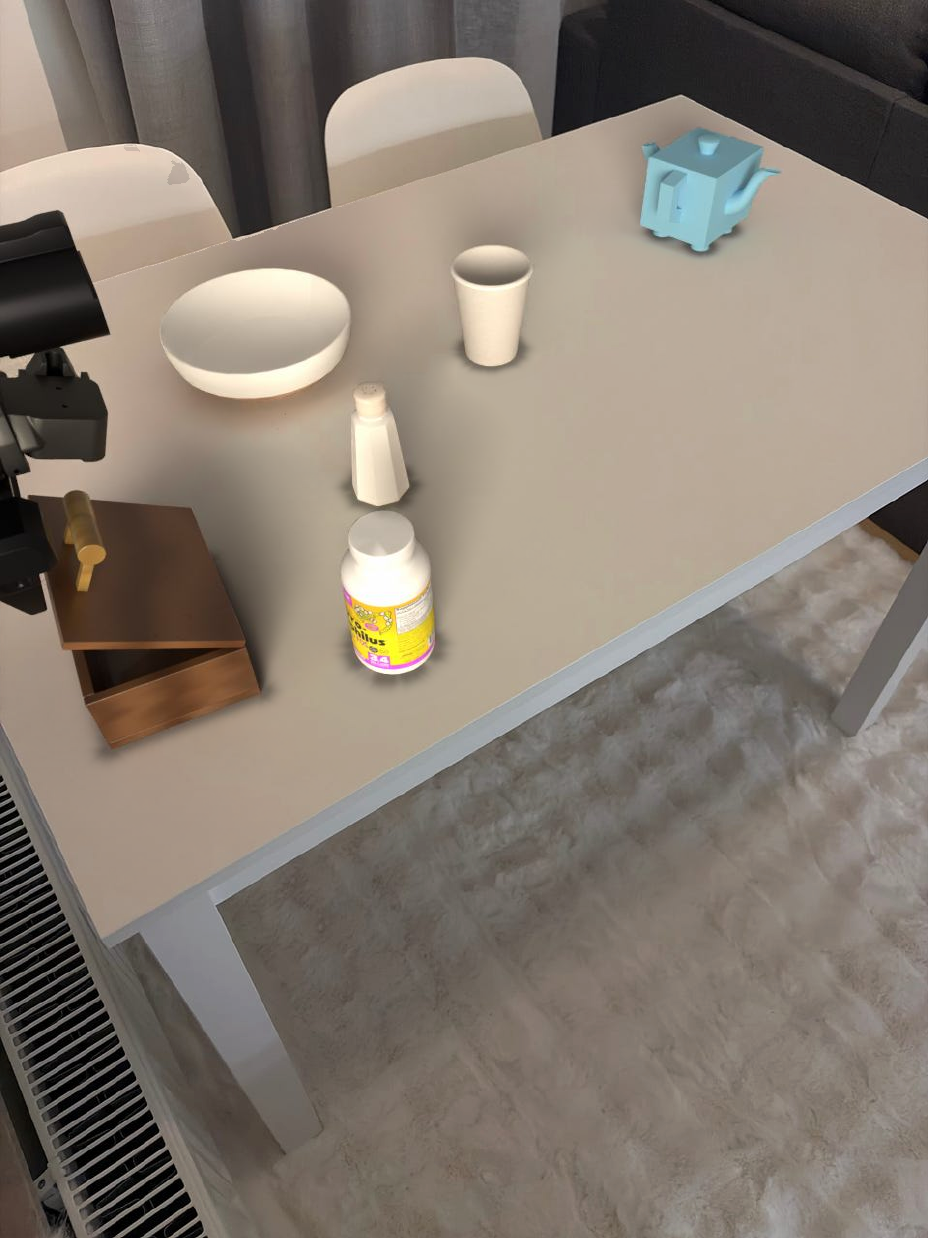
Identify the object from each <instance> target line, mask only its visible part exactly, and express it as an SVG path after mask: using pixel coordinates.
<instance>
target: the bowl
mask: <svg viewBox="0 0 928 1238" xmlns="http://www.w3.org/2000/svg"><path fill="white" fill-rule="evenodd" d="M351 329H352V311H351V304H350V301H349V300H348V298H347V296H346V294H345V293H344V292H343V291H342V290H341V289H340V288H339V287H338V286H337V285H335V284H334V283H333V282H331V281H329V280H327V279H326V278H325V277H322V276H319V275H318V274H317V275H316V274H315V273H311V272H307V271H303V270H299V269H291V268H285V267H261V268H249V269H243V270H238V271H233V272H228V273H225V274H222V275H218V276H215V277H212V278H209V279H208V280H205V281H203V282H200V283H199V284H196V285H195V286H193V287H191V288H190V289H188V290H186V291H185V292H183V293H182V294H181V295H179V296H178V297H177V298H176V299H175V300H174V301H172V303H171V304H170V305H169V306H168V307H167V309H166V310H165V311H164V313H163V316H162V318H161V320H160V323H159V331H158V335H159V341H160V342H161V346H162V348H163V350H164V352H165V355H166V356H167V359H168V360H169V361H170V363H171V364H172V366H173V367H174V368H175V370H176V371H177V372H178V373H179V374H180V376H181V377H182V379H184V380H185V381H187V383H189V384H190V385H191V386H193V387H194V388H197V389H198V390H200V391H202V392H204V393H207V394H208V393H209V394H211V395H214V396H217V397H220V398H224V399H227V400H232V401H238V402H264V401H266V402H267V401H274V400H277V399H282V398H286V397H289V396H293V395H295V394H297V393H300V392H302V391H305V390H307V389H309V388H310V387H312V386H314V385H315V384H316V383H318V382H320V380H322V379H323V378H324V377H325V376H326V375H327V374H329V373H330V372H331V371H332V370H334V369H335V368H336V366H337V365H338V364H339V363H340V362H341V360H342V358H343V356H344V354H345V353H346V350H347V346H348V344H349V339H350V335H351V331H352V330H351Z"/></svg>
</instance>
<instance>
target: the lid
mask: <svg viewBox="0 0 928 1238" xmlns="http://www.w3.org/2000/svg"><path fill="white" fill-rule="evenodd" d="M26 499H28V500H31V501H34V502H37V503H39V505H40V507H41V509H42V511H43V513H44V515H45V518H46V520H47V523H48V525H49V528H50V531H51V533H52V537H53V541H54V545H55V549H56V553H57V556H58V560H59V562H58V563H57V564H56V565H55V566H54V567H53V569H52V570H51V571H48V572H45V573H43V575H44V580H45V583H46V588H47V592H48V596H49V601H50V604H51V609H52V613H53V617H54V622H55V625H56V630H57V633H58V638H59V641H60V646H61V650H63V651H72V650H92V649H162V648H231V647H244V644H245V645H246V642H247V641H246V638H245V635H244V633H243V630H242V628H241V625H240V623H239V621H238V618H237V616H236V613H235V611H234V608H233V606H232V604H231V601H230V599H229V596H228V593H227V591H226V588H225V585H224V584H223V581H222V579H221V576H220V574H219V571H218V569H217V567H216V564H215V562H214V559H213V556H212V554H211V551H210V549H209V547H208V545H207V542H206V540H205V537H204V535H203V532H202V530H201V527H200V525H199V523H198V520H197V518H196V515H195V513H194V510H193V507H190V506H177V505H163V504H151V503H137V502H125V501H114V500H113V501H112V500H102V499H91V498H90V495H89V494H88V493H86V492H85V491H83V490H79V489H75V490H73V489H72V490H70V491H68V492H67V493H65V494H64V496H63V497H61V496H52V495H51V496H50V495H39V494H38V495H37V494H28V495H27V498H26Z"/></svg>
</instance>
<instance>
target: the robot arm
mask: <svg viewBox="0 0 928 1238" xmlns="http://www.w3.org/2000/svg"><path fill="white" fill-rule="evenodd" d="M109 327H110V326H109V324H108V322H107V319H106V316H105V313H104V310H103V307H102V305H101V301H100V299H99V295H98V293H97V291H96V287H95V286H94V283H93V281H92V278H91V276H90V272H89V271H88V268H87V266H86V263H85V260H84V258H83V255H82V253H81V250H78V249H77V246H76V243H75V241H74V238H73V235H72V232H71V230H70V227H69V224H68V221H67V220H66V217H65V214H64V212H63V211H61V210H59V209H55V210H50V211H45V212H41V213H37V214H34V215H31V216H30V217H28V218H26V219H24V220H21V221H17V222H12V223H6V224H1V225H0V359H2V358H7V357H8V358H9V359H10V360H13V359H18V358H22V357H25V356H30V355H32V356H31V358H30V360H29V361H28V363H27V364H26V366H25V368H19V369H17V370H18V371H17V376H15V377H13V376H11V377H9V376H8V374H7V372H5V371H3V370H0V603H3V604H5V605H7V606H10V607H11V608H13V609H16V610H18V611H20V612H23V613H25V614H26V615H29V616H35V615H39V614H42V613H45V612H47V610H48V606H47V601H46V596H45V593H44V589H43V584H42V579H41V577H40V576H41V574H44V573H45V572H48V571H51V570H52V569H53V567H54V566H55V565H56V564H57V563H58V562H59V560H58V556H57V553H56V549H55V545H54V541H53V537H52V533H51V531H50V528H49V525H48V523H47V520H46V518H45V515H44V513H43V511H42V509H41V507H40V505H39V503H37V502H34V501H31V500H28V499H27V498H26V497H25V498H24V497H22V495H21V491H20V486H19V482H18V477H19V476H21V475H24V474H29V473H32V472H31V467H30V463H29V461H28V459H27V457H29V458H31V459H35V460H44V461H45V460H53V461H54V460H55V461H56V460H81V461H82V462H84V463H96V462H100V461H102V460H103V459H104V458H105V457H106V455H107V453H106V451H107V438H108V437H107V435H108V422H109V410H108V407H107V406H106V402H105V400H104V396H103V393H102V392H101V388H100V386H99V384H98V383H97V382H96V381H94V380H92V379H90V376H89V373H88V371H80V376H79V375H78V374H77V373H76V370H75V367H74V365H73V363H72V362H71V360H70V358H69V356H68V355H67V353H66V351H65V349H64V347H66V346H70V345H74V344H78V343H82V342H86V341H90V340H94V339H98V338H102V337H107V336H111V331H110V328H109ZM17 476H18V477H17Z"/></svg>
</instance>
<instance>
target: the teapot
mask: <svg viewBox="0 0 928 1238" xmlns="http://www.w3.org/2000/svg"><path fill="white" fill-rule="evenodd" d="M641 149H642V151H643V154H644V157H645V161H646V163H647V168H646V177H645V184H644V191H643V199H642V207H641V212H640V213H641V214H640V221H639V226H641V227H643V228H646V229H649V230H652V234H653V236H656V237H659V238H665V237H671V238H674V239H676V240H679V241H682V242H685V243H687V244H689V245H690V248H691V249H692V250H693V251H696V252H706V251H708V250H709V249H710V245H711V244H712V243H713V242H715V241H716V240H718V238H720V237H721V236H723V235H726V234H727V235H728V234H730V233H732V232H733V227H734V226H736V225H738V223H741V222H742V221H743V220H744V219H745V218H747V217H749V215H750V211H751V207H752V203H753V200H754V198H755V197H756V195H757V193H758V191H759V190H760V187H761V186H762V184H763V182H765V180H767V179H768V178H770V177H772V176H776V175H780V174H782V171H781V170H779V169H778V168H774V167H761V162H762V158H763V153H764V149H765V148H764V146H762V145H759V144H755V143H752V142H749V141H746V140H743V139H739V138H737V137H735V136H731V135H726V134H723V133H720V132H717V131H713V130H709V129H706V128H703V127H700V126H696V127H694V128H693V129H691V130H690V131H688V132H687V133H685V134H683V135H681V136H680V137H679V138H677V139H675V140H674V141H672V142H671V143H669V144H667V145H666V146H665V147H663V148H660V147H659V146H658V142H646V143H645V144H643V145H641ZM760 167H761V168H760Z"/></svg>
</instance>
